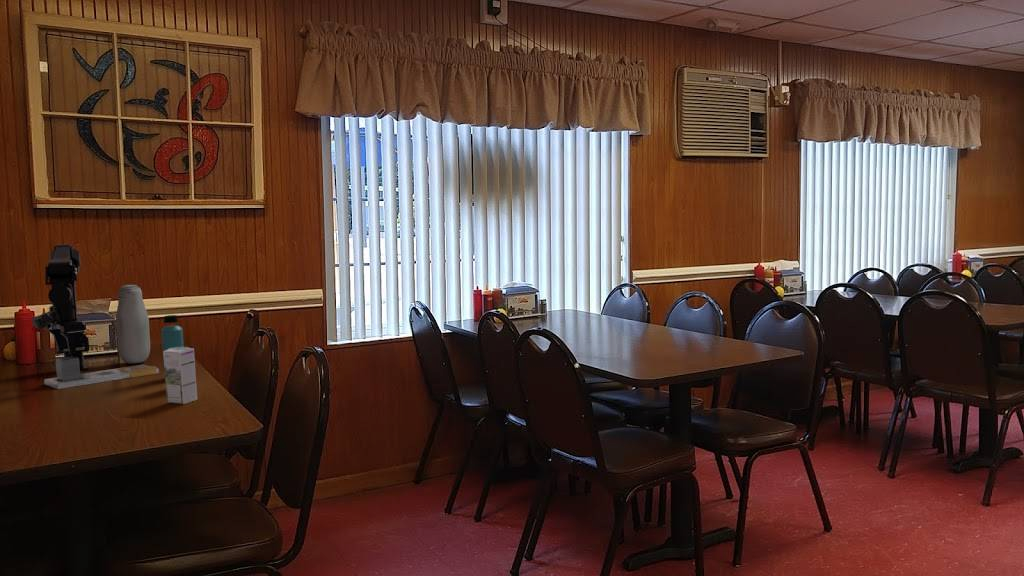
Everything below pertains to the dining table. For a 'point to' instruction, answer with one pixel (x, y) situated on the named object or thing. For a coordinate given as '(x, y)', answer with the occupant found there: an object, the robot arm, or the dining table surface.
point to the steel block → (67, 369)
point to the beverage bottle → (171, 334)
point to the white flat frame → (104, 376)
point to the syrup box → (180, 375)
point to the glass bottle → (132, 325)
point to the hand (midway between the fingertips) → (66, 352)
